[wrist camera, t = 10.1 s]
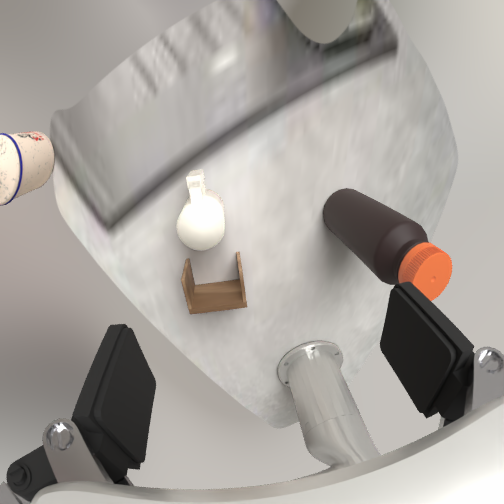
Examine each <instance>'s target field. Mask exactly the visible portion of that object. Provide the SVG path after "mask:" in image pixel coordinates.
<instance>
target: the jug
mask: <svg viewBox="0 0 504 504" xmlns="http://www.w3.org/2000/svg"><path fill="white" fill-rule="evenodd" d="M186 179H187V185H188V189H189V192H190V197H189V198H188V200H187V202H186V204H185V206H184V208H183V210H182V212H181V214H180V216H179V218H178V221H177V233H178V236H179V238H180V240H181V241H182V242H183V243H184V244H185V245H186V246H188V247H189V248H191V249H194V250H208V249H211V248H213V247H214V246H216V245H217V244H218V243H219V242H220V241H221V239H222V237H223V235H224V231H225V220H224V204H223V201H222V199H221V197H220V196H219V195H218V194H217V193H216V192H214V191H212V190H208V189H205V184H204V179H205V178H204V171H203V169H200V170H194V171H191V172H190V173H189V175H188V176H187V177H186Z"/></svg>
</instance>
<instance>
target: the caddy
mask: <svg viewBox="0 0 504 504" xmlns="http://www.w3.org/2000/svg"><path fill="white" fill-rule="evenodd" d="M236 253H237V261H238V268H239V275H240V279H238V280H231V281H224V282H216V283H208V284H200V285H195V283H194V279H193V274H192V270H191V265H190V260H189V259H186V262H185V266H184V270H183V274H182V278H181V282H182V286H183V290H184V293H185V297H186V301H187V305H188V309H189V312H190V314H197V313H206V312H214V311H222V310H230V309H237V308H245V307H247V302H246V295H245V287H244V280H243V272H242V266H241V259H240V253H239V252H236Z"/></svg>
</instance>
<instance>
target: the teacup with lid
mask: <svg viewBox="0 0 504 504" xmlns="http://www.w3.org/2000/svg"><path fill="white" fill-rule="evenodd" d="M53 166H54V150H53V147H52V144H51V142H50V140H49V139H48V137H47V136H46V135H44V134H43V133H41V132H36V131H34V132H24V133H16V134H4V133H1V134H0V205H6V204H8V203H10V202H11V201H12V200H13V199H14V198H16V197H19V196H21V195H23V194H25V193H28V192H30V191H32V190H35V189H37V188H39V187H41V186H42V185H44V184H45V183H46V182H47V180H48V179H49V177H50V175H51V173H52V170H53Z"/></svg>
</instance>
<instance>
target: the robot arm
mask: <svg viewBox="0 0 504 504" xmlns="http://www.w3.org/2000/svg"><path fill="white" fill-rule="evenodd" d="M380 348H381V351H382V353H383V354H384V355H385V357H386V359H387V361H388V362H389V364H390V365H391V367H392V368H393V370H394V372H395V373H396V375H397V376H398V378H399V380H400V381H401V383H402V384H403V386H404V388H405V389H406V391H407V393H408V394H409V396H410V398H411V399H412V401H413V403H414V404H415V406H416V408H417V410H418V411H419V412H420V413H423V414H424V415H425V417H426V418H428V417H430V416H432V415H434V414H436V413H438V412H439V413H440V415H441V419H440V424H439V428H438V430H437V431H435V432H433V433H431V434H429V435H427V436H425V437H423V438H421V439H419V440H417V441H415V442H413V443H410V444H408V445H406V446H403V447H401V448H399V449H396V450H394V451H391V452H389V453H387V454H384V455H380V453H379V452H378V450H377V448H376V446H375V444H374V443H373V441H372V439H371V437H370V435H369V432H368V431H367V428H366V426H365V424H364V421H363V419H362V417H361V415H360V412H359V410H358V408H357V406H356V404H355V401H354V399H353V397H352V395H351V393H350V390H349V388H348V386H347V384H346V381H345V379H344V377H343V375H342V373H341V370H340V368H341V366H342V363H343V355H342V353H341V351H340V349H339V348H338V347H337V346H336V345H335V344H333V343H330V342H325V341H315V342H309V343H306V344H303V345H301V346H298V347H296V348H295V349H293V350H291V351H290V352H289V353H288V354H286V355H285V356H284V358H283V359H282V360H281V362H280V364H279V366H278V376H279V379H280V381H281V382H282V383H283V384H284V385H285V386H287V387H290V388H291V392H292V396H293V399H294V403H295V407H296V410H297V414H298V418H299V422H300V425H301V429H302V433H303V437H304V440H305V444H306V447H307V449H308V451H309V453H310V454H311V455H312V456H313V457H314V458H316V459H318V460H319V461H321V462H323V463H325V464H327V465H329V466H331V467H330V468H328V469H326V470H323V471H321V472H318V473H315V474H312V475H309V476H306V477H302V478H298V479H295V480H291V481H287V482H281V483H274V484H267V485H260V486H251V487H241V488H228V489H205V490H204V489H203V490H201V489H200V490H191V489H160V488H146V487H136V486H134V485H133V484H132V482H131V481H130V480H129V478H128V477H127V470H128V468H129V469H140V463H142V462H144V460H145V455H146V447H147V439H148V433H149V426H150V419H151V413H152V406H153V401H154V395H155V389H156V381H155V378H154V376H153V374H152V372H151V370H150V368H149V366H148V363H147V361H146V359H145V357H144V355H143V353H142V350H141V348H140V346H139V344H138V342H137V339H136V337H135V335H134V332H133V330H132V329H131V328H128V327H127V325H125V324H118V325H110V326H109V327H108V330H107V332H106V334H105V336H104V338H103V340H102V343H101V345H100V347H99V350H98V352H97V354H96V356H95V359H94V361H93V364H92V366H91V368H90V370H89V373H88V375H87V378H86V380H85V383H84V386H83V388H82V391H81V393H80V396H79V398H78V401H77V404H76V406H75V409H74V412H73V416H72V419H71V420H69V419H65V418H61V419H57V420H54V421H53V422H51V423H50V424H49V425H48V426H47V427H46V428H45V430H44V432H43V437H42V441H43V445H42V446H41V447H39V448H37V449H36V450H34V451H32V452H31V453H29V454H27V455H25V456H24V457H22V458H20V459H19V460H17V461H15V462H14V463H12V464H11V465H10V467H9V468H8V471H7V483H5V482H3V483H2V484H1V485H0V504H504V355H503V354H502V353H501V352H500V351H498V350H496V349H495V348H491V347H483V348H480V349H478V350H477V351H476V353H475V354H474V352H473V351H472V350H473V348H474V345H473V344H472V343H471V342H470V341H469V340H468V339H467V338H466V337H465V336H464V335H463V333H462V332H461V331H460V330H459V329H458V328H457V327H456V326H455V325H454V324H453V323H452V322H451V321H450V320H449V319H448V318H447V317H446V316H445V315H444V314H443V313H442V312H441V311H440V310H439V309H438V308H437V307H436V306H435V305H434V304H433V303H432V302H431V301H430V300H429V299H428V298H427V297H426V296H425V295H424V294H423V293H422V292H421V291H420V290H419V289H418V288H417V287H416V286H414V285H413V284H412V283H411V282H409V281H408V282H403V283H399V284H396V285H395V286H394V288H393V289H392V290H391V292H390V297H389V303H388V308H387V313H386V318H385V323H384V328H383V332H382V337H381V341H380Z"/></svg>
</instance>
